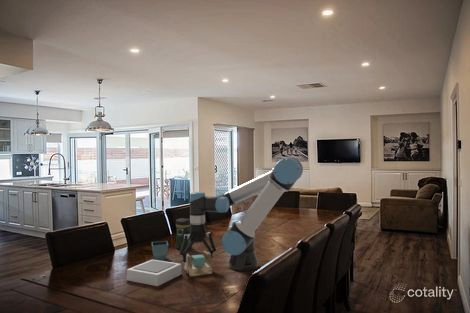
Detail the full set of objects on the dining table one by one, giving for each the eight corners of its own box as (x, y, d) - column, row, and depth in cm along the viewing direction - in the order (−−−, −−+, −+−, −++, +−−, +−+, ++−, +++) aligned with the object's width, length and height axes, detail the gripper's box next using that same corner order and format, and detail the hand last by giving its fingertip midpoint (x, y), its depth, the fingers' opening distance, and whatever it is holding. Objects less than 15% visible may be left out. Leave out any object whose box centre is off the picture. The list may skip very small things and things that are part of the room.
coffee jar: (193, 247, 225) (193, 218, 225) (185, 250, 218) (185, 220, 218) (182, 245, 230) (181, 216, 230) (173, 248, 223) (173, 218, 223)
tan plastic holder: (204, 266, 185) (204, 250, 185) (212, 273, 174) (212, 256, 174) (184, 269, 181) (184, 252, 181) (190, 276, 170) (190, 258, 170)
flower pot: (152, 262, 194) (152, 245, 194) (151, 257, 203) (151, 241, 203) (168, 260, 197) (168, 244, 197) (167, 256, 205) (167, 240, 205)
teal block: (201, 262, 181) (201, 254, 181) (204, 265, 176) (204, 257, 176) (191, 263, 179) (191, 255, 179) (194, 266, 174) (194, 258, 174)
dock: (181, 274, 174) (181, 263, 174) (157, 286, 158) (157, 274, 158) (152, 269, 182) (152, 258, 182) (126, 280, 166) (126, 268, 166)
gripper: (217, 220, 186) (217, 262, 186) (172, 223, 177) (172, 268, 177) (222, 222, 179) (222, 266, 179) (176, 226, 170) (176, 272, 170)
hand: (197, 267), depth 178 cm, fingers closed on tan plastic holder, 11 cm apart
